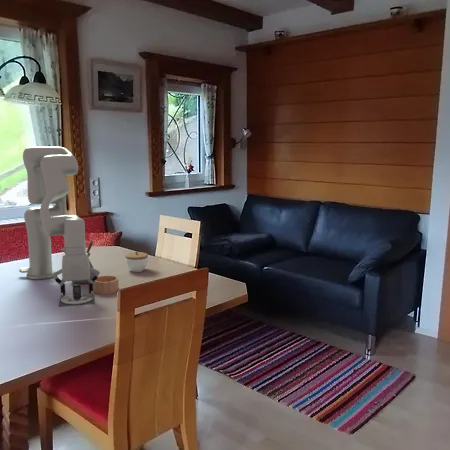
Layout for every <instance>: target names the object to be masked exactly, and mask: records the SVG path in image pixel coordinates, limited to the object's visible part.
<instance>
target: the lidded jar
mask: <svg viewBox="0 0 450 450" xmlns="http://www.w3.org/2000/svg"><path fill="white" fill-rule="evenodd" d="M124 259H125V264H126V266H127V267H126V268H127V269H129V271H130V272H132V273H133V272H134V273H139V272H143V271H144V270H145V268H146V267H147V266H148V263H149V262H148V260H149V254H148V253H146V252H142V251H141V252H140V251H137V250H135V252H128V253H126V254H125V258H124Z"/></svg>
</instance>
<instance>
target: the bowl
mask: <svg viewBox="0 0 450 450" xmlns="http://www.w3.org/2000/svg"><path fill="white" fill-rule="evenodd" d="M119 290H120V289H119V277H118V276H116V275H109V274H107V275H99V276H98V277H97V279H96V280H95V281H94V282H93V293H96V294H101V295H102V294H103V295H104V294H105V295H106V294H112V293H116V292H118V291H119Z"/></svg>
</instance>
